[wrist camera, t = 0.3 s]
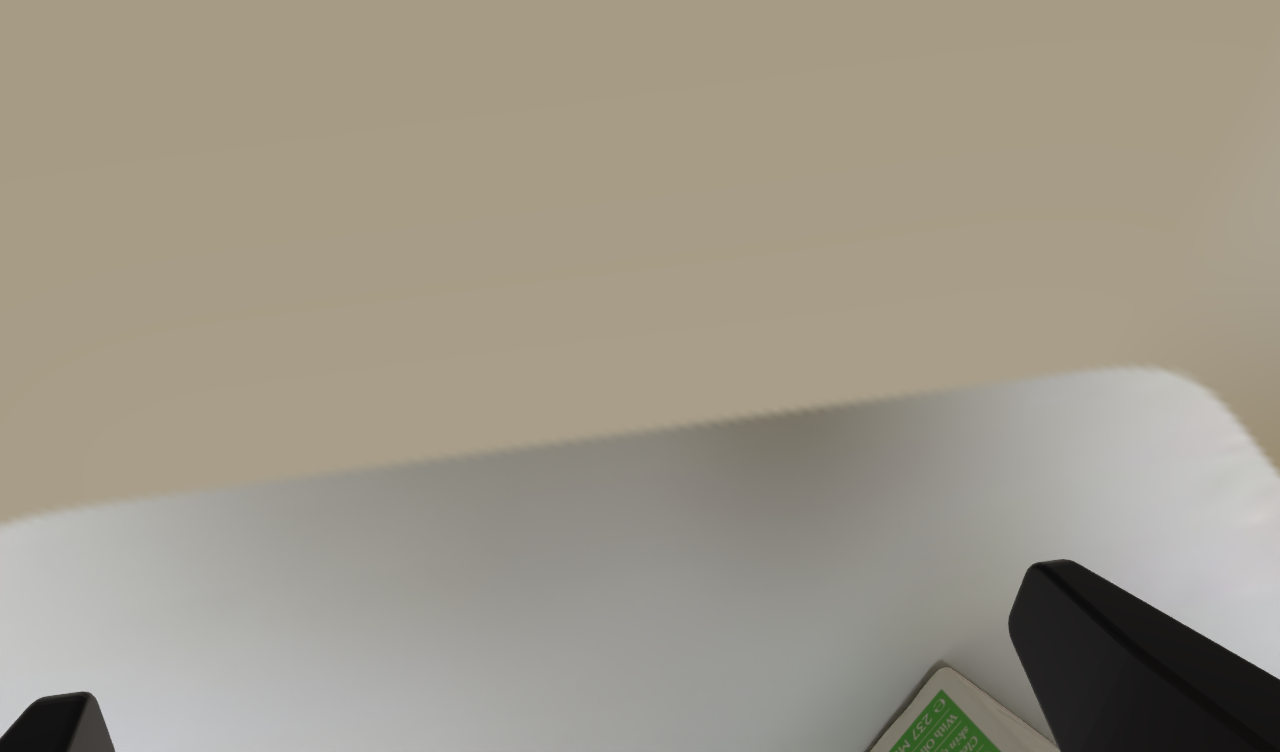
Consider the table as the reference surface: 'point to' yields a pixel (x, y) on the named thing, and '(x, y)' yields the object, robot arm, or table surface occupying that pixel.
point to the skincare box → (959, 722)
